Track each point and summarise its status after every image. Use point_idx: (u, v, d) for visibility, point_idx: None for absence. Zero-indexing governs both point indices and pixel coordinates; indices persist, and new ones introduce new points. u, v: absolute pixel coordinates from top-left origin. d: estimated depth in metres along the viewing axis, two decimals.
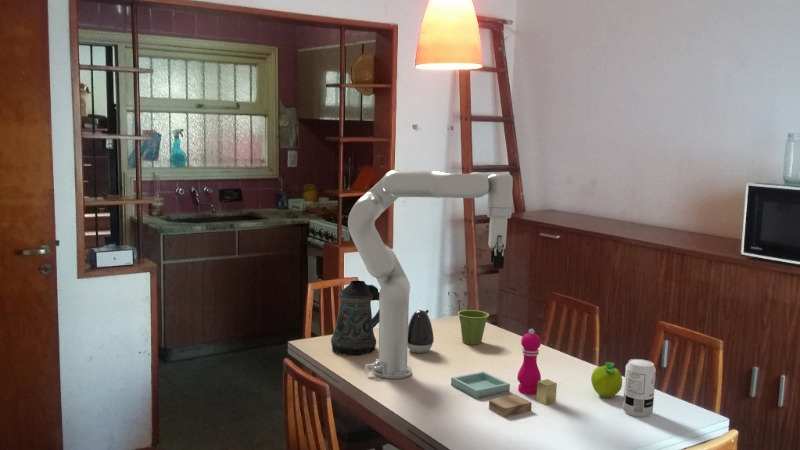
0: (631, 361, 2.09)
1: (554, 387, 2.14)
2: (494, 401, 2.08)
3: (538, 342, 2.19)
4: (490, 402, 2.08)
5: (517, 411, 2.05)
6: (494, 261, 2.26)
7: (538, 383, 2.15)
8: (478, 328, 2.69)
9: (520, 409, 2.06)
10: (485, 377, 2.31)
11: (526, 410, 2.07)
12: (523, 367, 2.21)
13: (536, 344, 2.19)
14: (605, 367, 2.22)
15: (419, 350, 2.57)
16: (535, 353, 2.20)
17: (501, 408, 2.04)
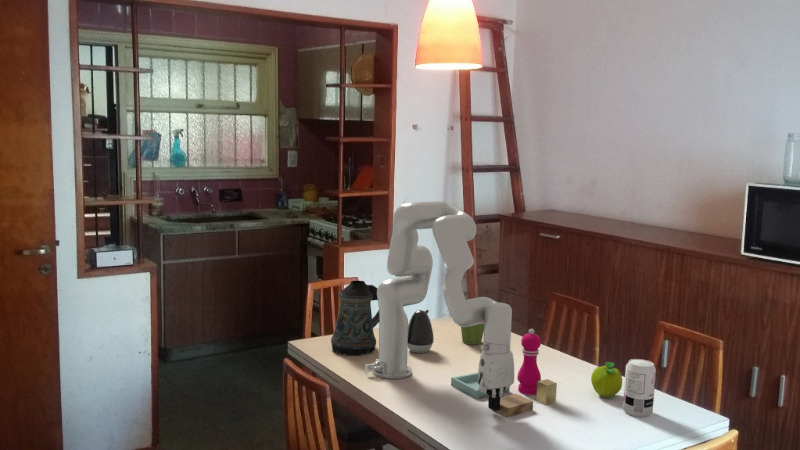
0: (631, 361, 2.09)
1: (554, 387, 2.14)
2: None
3: (538, 342, 2.19)
4: None
5: (520, 411, 2.06)
6: None
7: (538, 383, 2.15)
8: (478, 328, 2.69)
9: (523, 408, 2.06)
10: None
11: (528, 409, 2.08)
12: (523, 367, 2.21)
13: (536, 344, 2.19)
14: (605, 367, 2.22)
15: (419, 350, 2.57)
16: (535, 353, 2.20)
17: (504, 408, 2.04)
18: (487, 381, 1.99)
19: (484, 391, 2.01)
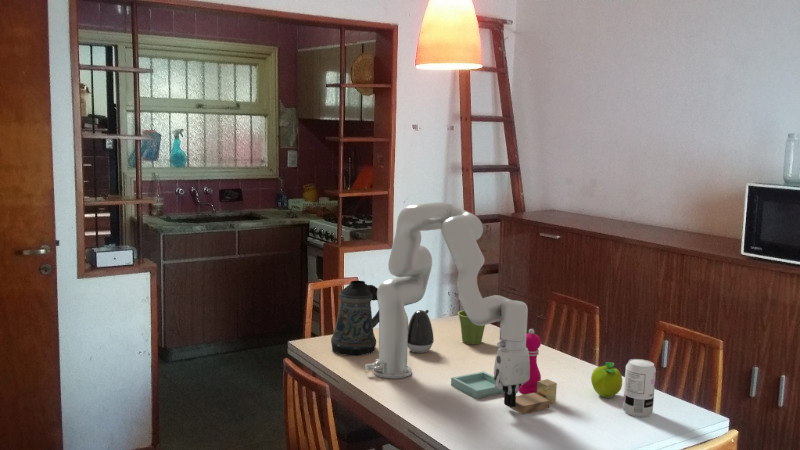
0: (631, 361, 2.09)
1: (554, 387, 2.14)
2: None
3: (538, 342, 2.19)
4: None
5: (535, 409, 2.08)
6: None
7: (538, 383, 2.15)
8: (478, 328, 2.69)
9: (539, 407, 2.08)
10: (485, 377, 2.31)
11: (544, 408, 2.09)
12: None
13: (536, 344, 2.19)
14: (605, 367, 2.22)
15: (419, 350, 2.57)
16: (535, 353, 2.20)
17: (519, 406, 2.06)
18: (503, 378, 2.02)
19: (500, 388, 2.04)
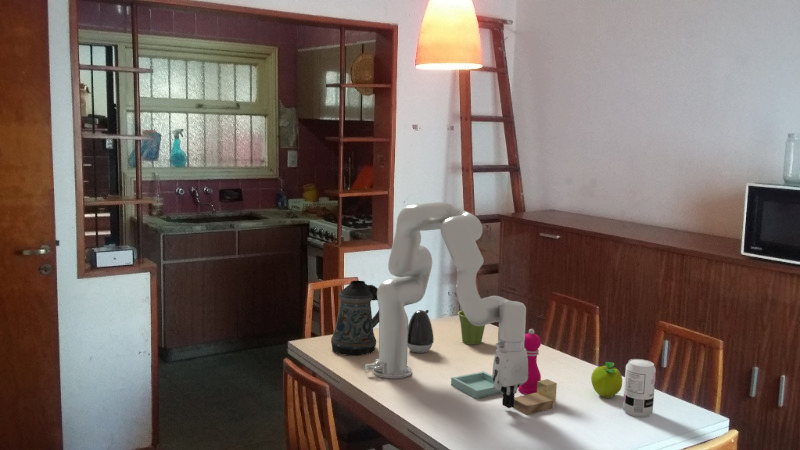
0: (631, 361, 2.09)
1: (554, 387, 2.14)
2: (516, 399, 2.10)
3: (538, 342, 2.19)
4: None
5: (540, 409, 2.08)
6: None
7: (538, 383, 2.15)
8: (478, 328, 2.69)
9: (542, 407, 2.08)
10: (485, 377, 2.31)
11: (548, 408, 2.09)
12: None
13: (536, 344, 2.19)
14: (605, 367, 2.22)
15: (419, 350, 2.57)
16: (535, 353, 2.20)
17: (524, 406, 2.06)
18: (502, 378, 2.02)
19: (499, 388, 2.04)
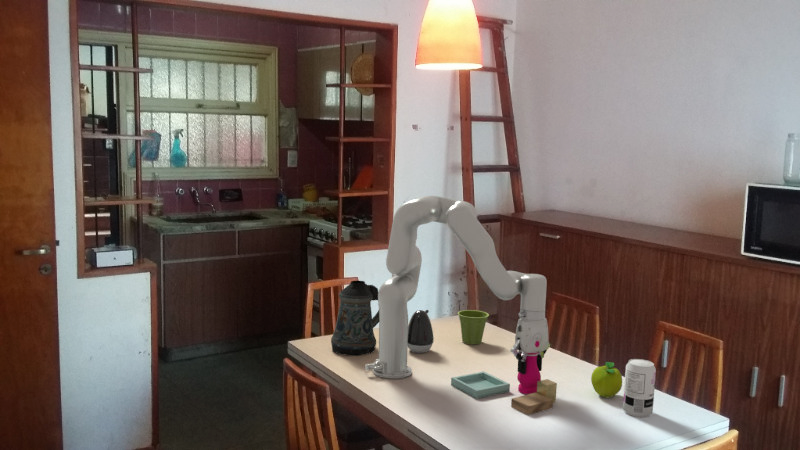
0: (631, 361, 2.09)
1: (554, 387, 2.14)
2: (516, 399, 2.10)
3: (538, 342, 2.19)
4: (512, 400, 2.10)
5: (540, 409, 2.08)
6: None
7: (538, 383, 2.15)
8: (478, 328, 2.69)
9: (543, 406, 2.08)
10: (485, 377, 2.31)
11: (548, 407, 2.10)
12: None
13: (536, 344, 2.19)
14: (605, 367, 2.22)
15: (419, 350, 2.57)
16: (535, 353, 2.20)
17: (524, 406, 2.06)
18: (524, 345, 2.17)
19: (515, 353, 2.18)
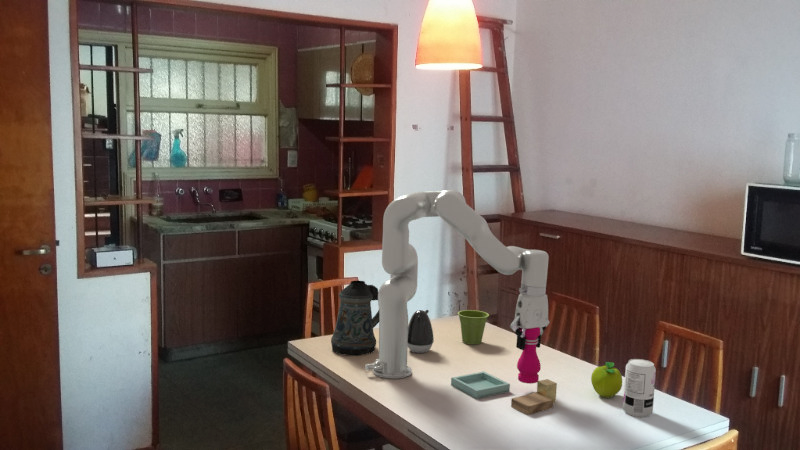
0: (631, 361, 2.09)
1: (554, 387, 2.14)
2: (516, 399, 2.10)
3: (537, 331, 2.19)
4: (512, 400, 2.10)
5: (540, 409, 2.08)
6: None
7: (538, 383, 2.15)
8: (478, 328, 2.69)
9: (543, 407, 2.08)
10: (485, 377, 2.31)
11: (548, 407, 2.09)
12: (523, 356, 2.21)
13: (536, 333, 2.18)
14: (605, 367, 2.22)
15: (419, 350, 2.57)
16: (535, 342, 2.19)
17: (524, 406, 2.06)
18: (524, 321, 2.16)
19: (514, 328, 2.17)
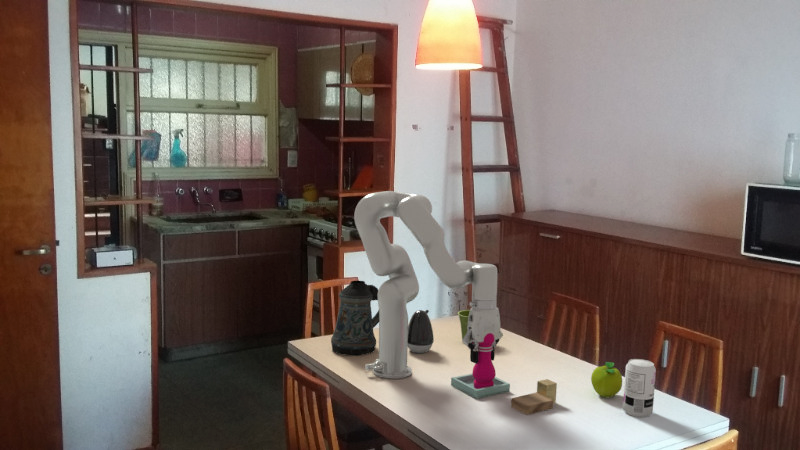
0: (631, 361, 2.09)
1: (554, 387, 2.14)
2: (516, 399, 2.10)
3: (491, 338, 2.20)
4: (512, 400, 2.10)
5: (540, 409, 2.08)
6: None
7: (538, 383, 2.15)
8: None
9: (543, 407, 2.08)
10: None
11: (548, 408, 2.09)
12: (477, 363, 2.22)
13: (489, 340, 2.20)
14: (605, 367, 2.22)
15: (419, 350, 2.57)
16: (489, 349, 2.21)
17: (524, 406, 2.06)
18: (475, 335, 2.18)
19: (467, 342, 2.19)
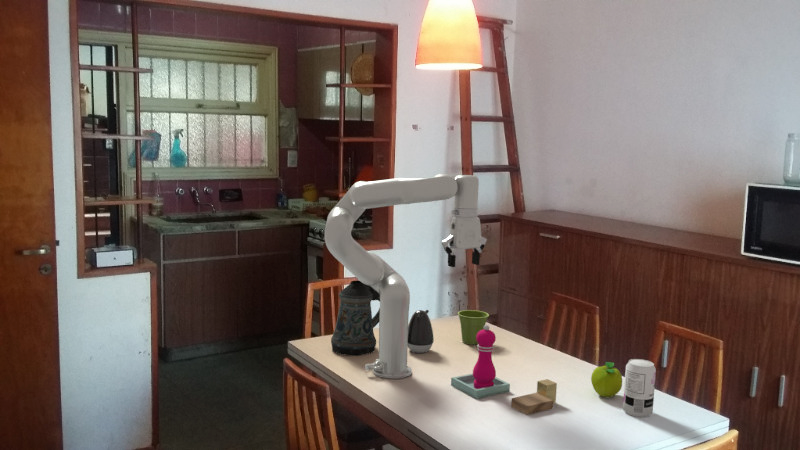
0: (631, 361, 2.09)
1: (554, 387, 2.14)
2: (516, 399, 2.10)
3: (492, 338, 2.20)
4: (512, 400, 2.10)
5: (540, 409, 2.07)
6: None
7: (538, 383, 2.15)
8: (478, 328, 2.69)
9: (543, 407, 2.08)
10: None
11: (548, 408, 2.09)
12: (478, 363, 2.22)
13: (490, 340, 2.20)
14: (605, 367, 2.22)
15: (419, 350, 2.57)
16: (490, 349, 2.21)
17: (524, 406, 2.06)
18: (457, 241, 2.29)
19: (445, 245, 2.29)
